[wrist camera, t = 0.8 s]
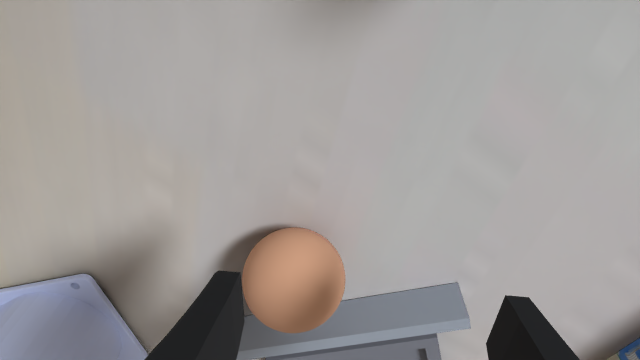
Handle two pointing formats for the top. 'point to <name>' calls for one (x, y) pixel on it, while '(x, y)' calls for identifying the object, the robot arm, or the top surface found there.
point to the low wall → (364, 322)
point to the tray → (375, 350)
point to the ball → (293, 280)
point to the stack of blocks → (628, 352)
